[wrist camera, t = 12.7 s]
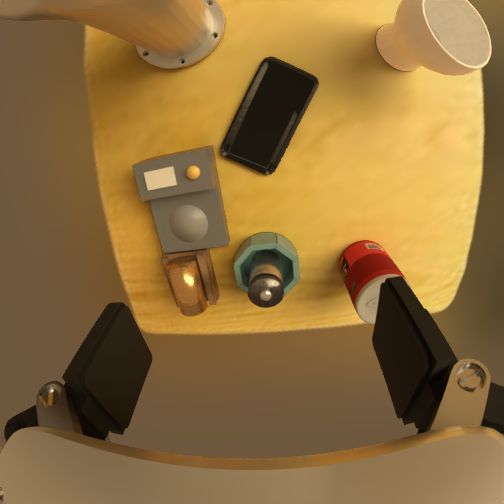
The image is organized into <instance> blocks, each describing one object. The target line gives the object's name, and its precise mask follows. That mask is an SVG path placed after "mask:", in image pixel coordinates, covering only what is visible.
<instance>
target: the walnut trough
mask: <svg viewBox="0 0 504 504" xmlns="http://www.w3.org/2000/svg"><path fill="white" fill-rule="evenodd" d="M180 256H193V257H194V258H195V260H196V264H197V268H198V271H199V275H200V279H201V282H202V286H203V290H204V293H205V297H206V300H207V301H209V304H210V305H216V302H217V300H218V299H219V290H218V286H217V282H216V278H215V274H214V269H213V265H212V261H211V257H210V253H209V248H204V249H195V250H187V251H178V252H170V253H164V254H163V257H162V258H161V260H162V263H163V266H164V269H165V272H166V276H167V279H168V282H169V285H170V288H171V290H172V293H173V296H174V299H175V302H176V305H177V307H179V304H178V302H177V299H176V296H175V293H174V290H173V287H172V284H171V281H170V278H169V275H168V272H167V269H166V265H167V263H168V262H169V261H171V260H172V259H174V258H177V257H180Z"/></svg>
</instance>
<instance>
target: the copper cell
mask: <svg viewBox="0 0 504 504" xmlns="http://www.w3.org/2000/svg"><path fill="white" fill-rule="evenodd" d="M166 269H167V272H168V275H169V278H170V281H171V284H172V287H173V290H174V293H175V296H176V299H177V302H178V304H179V307H180V310H181V313H182V314H183V315H186V316H195V315H198V314H201V313H202V312H204V311H205V310H206V308H207V306H208V304H207V300H206V297H205V293H204V290H203V286H202V282H201V279H200V275H199V271H198V268H197V264H196V260H195V258H194V257H193V256H180V257H177V258H174V259H172V260H171V261H169V262H168V263H167V265H166Z"/></svg>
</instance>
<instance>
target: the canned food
mask: <svg viewBox="0 0 504 504" xmlns="http://www.w3.org/2000/svg"><path fill="white" fill-rule="evenodd" d="M339 267H340V273H341V275H342V278H343V280H344V283H345V285H346V288H347V290H348V292H349V295H350V298H351V300H352V303H353V305H354V307H355V310H356V312H357V314H358V315H359V317H360V318H361V319H362V320H363V321H365V322H367V323H370V324H375V320H376V314H377V307H378V300H379V293H380V286H381V283H384V282H385V280H386V278H389V277H396V276H402V277H403V278H404V280H405V281H406V282H407V284H408V285H409V283H408V281H407V280H406V278H405V277H404V275H403V274H402V273H401V271H400V270H399V269H398V267H397V266H396V265H395V263H394V262H393V261H392V259H391V258H390V257H389V255H388V254H387V253H386V252H385V250H384V249H383V248H382V246H380V245H379V244H377V243H375V242H373V241H369V240H363V241H358V242H356V243H354V244H352V245H350V246H349V247H348V248H347V249H346V250H345V251H344V253H343V254H342V256H341V259H340V265H339ZM409 287H410V285H409ZM410 288H411V287H410Z"/></svg>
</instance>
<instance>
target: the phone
mask: <svg viewBox="0 0 504 504" xmlns="http://www.w3.org/2000/svg"><path fill="white" fill-rule="evenodd" d="M318 85H319V82H318V79H317V78H316V77H315V76H313V75H311V74H309V73H307V72H305V71H303V70H301V69H299V68H297V67H295V66H293V65H290V64H288V63H286V62H284V61H281V60H279V59H277V58H274V57H267V58H265V59H264V60H263V61H262V63H261V65H260V67H259V69H258V71H257V73H256V74H255V76H254V78H253V80H252V82H251V84H250V86H249V88H248V90H247V92H246V94H245V96H244V99H243V101H242V103H241V105H240V107H239V109H238V111H237V113H236V115H235V117H234V120H233V122H232V124H231V126H230V128H229V130H228V133H227V135H226V137H225V139H224V142H223V144H222V146H221V152H222V154H223V155H224V156H225V157H227V158H229V159H232V160H234V161H236V162H239V163H241V164H243V165H245V166H248V167H250V168H252V169H254V170H257V171H259V172H261V173H263V174H266V175H268V174H272V173H273V172H274V171H275V170H276V168H277V166H278V164H279V163H280V161H281V158H282V157H283V155H284V153H285V151H286V148H287V147H288V145H289V142H290V140H291V138H292V136H293V134H294V132H295V131H296V129H297V127H298V125H299V123H300V121H301V119H302V117H303V115H304V113H305V111H306V109H307V107H308V105H309V103H310V101H311V99H312V97H313V95H314V94H315V92H316V90H317V88H318Z"/></svg>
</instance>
